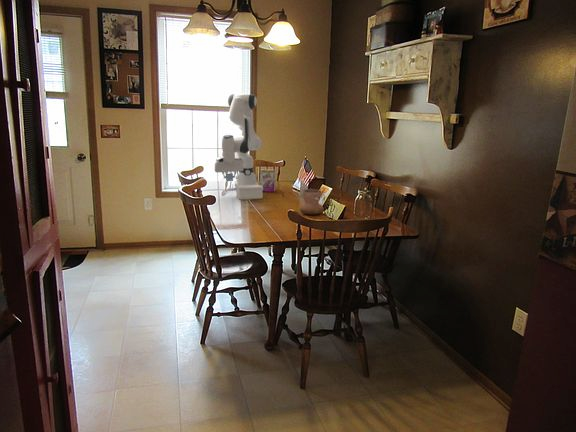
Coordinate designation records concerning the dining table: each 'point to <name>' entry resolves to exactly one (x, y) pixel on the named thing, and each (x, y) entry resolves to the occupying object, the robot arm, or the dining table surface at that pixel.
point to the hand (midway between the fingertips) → (229, 177)
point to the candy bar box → (267, 180)
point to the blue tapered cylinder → (229, 176)
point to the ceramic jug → (311, 202)
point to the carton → (249, 194)
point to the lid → (249, 187)
